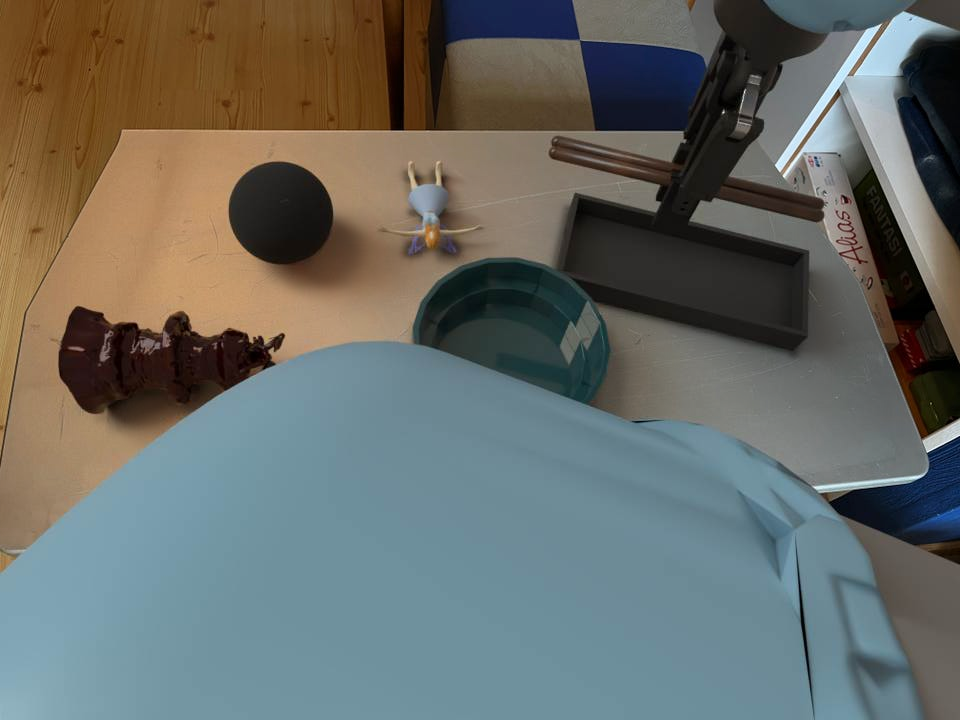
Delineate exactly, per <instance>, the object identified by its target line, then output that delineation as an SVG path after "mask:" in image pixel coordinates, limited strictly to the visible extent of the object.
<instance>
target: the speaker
mask: <svg viewBox="0 0 960 720" xmlns="http://www.w3.org/2000/svg"><path fill="white" fill-rule="evenodd" d="M227 211H228V220H229V224H230V228H231V230H232V232H233V235H234V236H235V238H236V240H237V241H238V243H239V244H240V246H241V247H242V248H243V249H244V250H246V252H248V253H249V254H250V255H252V256H253V257H254V258H256V259H258V260H260V261H262V262H266V263H268V264H273V265H280V266H285V265H286V266H288V265H294V264H299V263H302V262H304V261H306V260H308V259H310V258H312V257H313V256H314V255H316V254H317V253H318V252H319V251H320V250H321V249H322V248H323V247H324V245H325V244H326V243H327V241H328V240H329V237H330V235H331V232H332V230H333V224H334V207H333V202H332V199H331V196H330V193H329V191H328V190H327V187H326V186H325V185H324V183H323V182H322V181H321V180H320V179H319V178H318V177H317V176H316V175H315V174H314V173H313V172H312V171H310V170H308V169H307V168H305V167H304V166H302V165H299V164H297V163H293V162H289V161H282V160H281V161H280V160H278V161H277V160H276V161H275V160H274V161H269V162H264V163H260V164H257V165H255V166H254V167H252V168H250V169H249V170H248V171H246V172H245V173H244V174H243V175H242V176H241V177H240V178H239V179H238V180H237V182H236V184H234V187H233V189H232V191H231V194H230V196H229V201H228V209H227Z"/></svg>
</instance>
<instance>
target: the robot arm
mask: <svg viewBox="0 0 960 720" xmlns="http://www.w3.org/2000/svg"><path fill="white" fill-rule="evenodd" d="M903 12H904V13H906V14H909V15H913V16H915V17H918V18H921V19H923V20H926V21H930V22H931V23H935V24H938V25H940V26H943V27H946V28H949V29H953V30H955V31H957V32H960V0H713V13H714V17H715V20H716V22H717V23H718V26H719V27H720V28H721V33H720V35H719V38H718V40H717V43H716V45H715V47H714V49H713V52H712V55H711V56H710V59H709V62H708V63H707V66H706V69H705V71H704V73H703V76H702V78H701V81H700V83H699V85H698V88H697V89H696V91H695V92H696V93H695V94H694V97H693V98H692V102H691V104H690V105H689V106H688V109H687V118H689V121H688V123H687V125H686V126H685V128H684V129H683V131H682V133H683V140H686V141H685V142H682V141H681V142H680V143H679V145H678V147H677V149H676V152H675V154H674V156H673V158H672V160H671V162H672V163H676V164H680V165H684V166H683V168H682V170H681V169H673V168H672V169H671V172H670V176H669V181H671V184H670V186H669V187H666V186H662V185H659V187H658V190H657V192H656V194H655V199H654V200H655V202H658V203H660V204H659V206H658V208H657V210H656V211H655V212H656V214H655V216H654V218H653V221H652V227H656V228H660V229H664V230H668V231H672V232H676V233H681V234H682V233H683V231H684V230H685V228H686V226H687V224H688V222H689V221H691V219H692V217H693V216H694V213H695V211H696V210H697V208H698V206H699V204H700V203H701V201H702V202H707V203H712V202H713V200H714V199H715V198H714V197H715V196H716V194H717V193H718V191H719V190H720V188H721V187H722V185H723V184H724V182H725V181H726V179H727V178H728V176H731V173H732V172H733V171H734V169H735V167H736V166H737V164H738V162H739V161H740V159H741V158H742V157H743V155H744V154H745V152H746V150H747V149H748V148H749V146H750V145H751V144H752V143H754V142H755V141H756V140H757V139H758V138H759V137H760V136H761V134H762V133H763V131H764V128H765V119H764V118H760V117H759V116H757V114H758V111H759V110H760V108H761V106H762V104H763V102H764V101H765V98H766V96H767V94H768V93H770V92H772V91H773V90H774V89H775V87H776V85H777V83H778V81H779V79H780V77H781V75H782V72H783V67H784V65H783V63H784V62H787V61H789V60H792V59H796V58H801V57H803V56H806V55H808V54H811V53H813V52H815V51H816V50H817V49H818V48H820V47H821V46H822V45H823V43H825V41H826V39H827V38H828V37H829V35H830V33H841V32H842V33H844V32H852V31H855V32H862V31H865V30H868V29H871V28H875V27H877V26H879V25H882V24H884V23H886V22H889V21H891V20H893V19H894V18H896V17H897V16H899V15H900V14H902V13H903ZM276 364H277V365H274V366H272V367H270V368H267V369H265V370H263V371H261V370H260V371H259V372H257V373H256V374H254V375H252V376H250V377H249V378H248V379H246V380H244V381H243V382H241V383H239V384H237V385H235V386H233V387H232V388H230V389H228V390H227V391H223V392H221V393H220V394H218V395H216V396H215V397H213V398H212V399H210V400H209V401H208V402H206V403H204V404H202V405H201V406H200V407H199V408H197V409H196V410H194V411H193V412H191V413H190V414H188V415H187V416H185V417H184V418H182V419H181V420H179V421H178V422H177V423H176V424H174V425H173V426H171V427H170V428H169V429H167V430H166V431H164V433H162V434H161V435H160V436H158V437H157V438H156V439H154V440H153V441H151V442H150V443H149V444H147V445H146V446H144V447H143V448H142V449H141V450H140V451H138V452H137V453H136V454H135V455H134V456H132V457H131V458H130V459H129V460H127V461H126V462H125V463H124V464H123V465H121V467H119V468H118V469H117V470H115V471H114V472H113V473H112V474H111V475H110V476H108V477H107V478H106V479H105V480H103V482H101V483H100V484H99V485H97V486H96V487H95V488H94V489H93V490H92V491H90V492H89V493H88V494H87V495H85V496H84V497H83V498H82V499H81V500H80V501H78V502H77V503H76V504H75V505H74V506H73V507H72V508H70V509H69V510H68V511H67V512H65V514H63V515H61V517H60V518H58V520H57V521H55V522H54V523H53V524H52V525H51V526H50V527H48V529H47V530H46V531H44V532H43V533H42V534H41V535H40V536H39V537H38V538H37V539H36V540H35V541H34V542H32V544H31V545H29V546H28V547H27V548H26V549H25V550H24V551H23V552H22V553H21V554H19V555H18V556H17V557H16V558H15V559H14V560H13V561H12V562H11V563H10V564H9V565H8V566H7V567H6V568H5V569H4V570H2V572H1V573H0V720H960V564H959V563H956V562H954V561H952V560H949V559H947V558H945V557H942V556H939V555H937V554H935V553H932V552H930V551H927V550H926V549H923V548H920V547H918V546H915V545H913V544H911V543H908V542H906V541H904V540H901V539H899V538H896V537H894V536H891V535H890V534H887V533H884V532H882V531H880V530H878V529H875V528H873V527H870V526H867V525H865V524H863V523H861V522H858V521H856V520H853V519H852V518H848V517H846V516H844V515H841V514H839V513H838V512H837V511H836V509H835V508H833V506H832V505H831V504H830V503H829V502H828V501H827V500H826V499H825V497H823V496H822V494H821V493H820V492H819V491H818V490H817V489H816V488H815V487H814V486H813V485H811V484H809V482H807V481H805V480H804V479H803V478H802V477H801V476H799V475H798V474H796V473H795V472H793V471H792V470H791V469H790V468H788V467H787V466H786V465H784V464H783V463H781V462H780V461H779V460H777V459H776V458H774V457H772V456H770V455H768V454H767V453H765V452H763V451H761V450H759V449H757V448H756V447H755V446H753V445H751V444H750V443H747V442H745V441H744V440H742V439H740V438H738V437H736V436H733V435H731V434H728V433H725V432H722V431H720V430H718V429H715V428H712V427H710V426H707V425H704V424H702V423H697V422H690V421H683V420H674V419H667V418H666V419H663V418H638V419H630V420H628V419H626V418H623V417H620V416H618V415H616V414H612V413H610V412H607V411H604V410H601V409H599V408H597V407H593V406H591V405H590V406H588V405H586V404H583V403H580V402H578V401H575V400H572V399H570V398H567V397H564V396H562V395H559V394H556V393H554V392H551V391H548V390H545V389H543V388H540V387H537V386H535V385H532V384H529V383H527V382H524V381H521V380H519V379H516V378H513V377H511V376H508V375H505V374H503V373H500V372H497V371H495V370H492V369H489V368H487V367H484V366H481V365H478V364H476V363H473V362H470V361H468V360H465V359H462V358H460V357H457V356H454V355H452V354H449V353H446V352H443V351H440V350H437V349H434V348H430V347H427V346H422V345H416V344H412V343H407V342H402V341H396V340H395V341H394V340H370V341H350V342H345V343H340V344H337V345H336V344H335V345H330V346H327V347H323V348H318V349H315V350H311V351H307V352H304V353H301V354H299V355H296V356H294V357H292V358H289V359H286V360H284V361H282V362H279V363H276Z"/></svg>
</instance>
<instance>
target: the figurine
mask: <svg viewBox="0 0 960 720" xmlns="http://www.w3.org/2000/svg"><path fill="white" fill-rule="evenodd" d="M139 327H140V326H139V324H138V323H137V322H135V321H134V322H133V321H130V322H129V321H127V322H126V321H118V322H117V323H116V322H115V323H111V322H110V321H108V320H107V319H106V317H105V314H104V312H101V311H98V310H97V311H96V310H92V309H89V308H87V307H84V306H82V305H76V306H75V307H74V308H73V309H72V310H71V312H70V313H69V315H68V318H67V323H66V325H65V329H64V333H63V335H62V338H61V341H60V344H59V348H58V355H57V356H58V361H57V369H58V375H59V378H60V380H61V381H62V382H63V384H64V385H65V386H66V387H67V389H68V391H69V393H70V394H71V396H72V397H73V400H74V401H75V402H76V404H77V405H78V406H79V407H80V409H81V410H82V411H83V412H86V413H88V414H90V415H101V414H104V413H105V411H106V409H107V407H108V406H110V405H111V404H113V403H115V402H117V401H118V400H120V401H123V400H126V399H132V398H133V396H134V395H135V393H137V391H138V390H140V389H145V390H149V391H150V390H157V389H158V390H159V389H162V390H165V391H166V395H167V396H168V398H169V401H170V403H171V404H172V405H174V406H185V405H187V404H188V403H190V401H191V399H192V398H193V396H194V392H195V387H196V384H199V383H202V382H205V381H209V382H214V383H215V384H216V385H219V388H222V389H223V390H224V391H223V392H225V391H227V390H228V389H230V388H232V387H233V386H235V385H237V384H239V383H241V382H243V381H244V380H246V379H248V378H250V377H251V373H252V370H254V369H257V368H260V367H262V368H261V370H260V372H261V371H263V370H265V369H267V368H270V367H272V366H274V365H277V364H278V363H276V362H274V360H273V361H272V359H273V355H272V354H271V353H270V350H272V349H273V353H274V354H275V353H276V352H277V351H279V350H280V349H281V347H282V345H283V342H284V339H285V338H286V334H285V333H284V332H280V333H279V334H278V335H275V336H273V337H269V338H268V340H270V341H269V342H267V343H266V344H265V338H264V337H263V336H262V335H257V337H256V336H252V342H251V341H250V336H249V334H248V333H247V332H246V331H245V332H244V331H241V330H239V329H235V328H233V327H228V328H226V329H225V330H223V331H222V332H221V333H219V334H218V333H217V334H213V335H211V336H203V335H201V334H199V333H198V332H197V331H195V330H193V326H192V323H191V319H190V317H189V315H188V314H187V313H186V312H185V311H184V310H179V311H178V310H177V311H175V312H173V313H172V314H170V315H169V316H168V317H167V319H166V320H165V322H164V325H163V328H162V332H157V331H153V330H152V329H151V328H149V327H146V328H139Z"/></svg>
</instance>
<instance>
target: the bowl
mask: <svg viewBox="0 0 960 720" xmlns="http://www.w3.org/2000/svg"><path fill="white" fill-rule="evenodd" d="M411 329H412V331H411V344H416V345H422V346H427V347H430V348H434V349H437V350H440V351H443V352H446V353H449V354H452V355H454V356H457V357H460V358H462V359H465V360H468V361H470V362H473V363H476V364H478V365H481V366H484V367H487V368H489V369H492V370H495V371H497V372H500V373H503V374H505V375H508V376H511V377H513V378H516V379H519V380H521V381H524V382H527V383H529V384H532V385H535V386H537V387H540V388H543V389H545V390H548V391H551V392H554V393H556V394H559V395H562V396H564V397H567V398H570V399H572V400H575V401H578V402H580V403H583V404H586V405H588V406H591V404H592V403H593V401H594V399H595V397H596V396H597V394H598V392H599V390H600V389H601V388H602V387H601V386H602V385H603V384H604V382H605V380H606V378H607V374H608V368H609V362H610V357H611V344H610V340H609V334H608V328H607V324H606V321H605V319H604V318H603V316H602V314H601V312H600V311H599V308H598V307H597V305H596V303H595V301H593V300H592V298H591V297H590V296H589V295H588V294H587V293H586V292H585V291H584V290H583V289H582V288H581V287H580V286H579V285H577V284H576V283H575V282H574V281H573V280H572V279H571V278H569V277H567V276H566V275H564V274H562V273H560V272H558V271H556V268H553V267H551V266H549V265H547V264H545V263H542V262H541V263H540V262H537V261H533V260H529V259H525V258H521V257H517V256H513V257H485V258H482V259H479V260H474V261H472V262H469V263H465V264H461V265H459V266H457V267H456V268H455V269H453V270H452V271H450V272H449V273H446V275H444V276H442V277H440V278H439V279H438V280H437V281H436V282H435V283H434V284H433V285H432V287H431V288H430V290H428V292H427V293H426V295H424V297H423V298H422V299H421V301H420V303H419V306H418V310H417V312H416V315H415V318H414V321H413V325H412V327H411Z"/></svg>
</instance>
